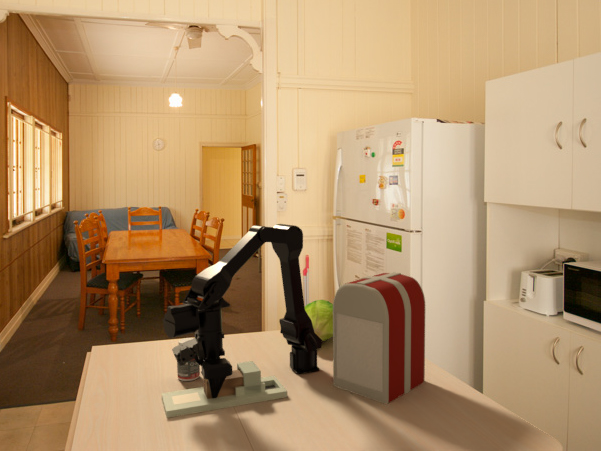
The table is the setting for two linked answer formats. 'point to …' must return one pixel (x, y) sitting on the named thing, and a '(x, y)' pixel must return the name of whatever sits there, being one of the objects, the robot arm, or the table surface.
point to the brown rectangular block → (226, 384)
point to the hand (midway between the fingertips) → (211, 392)
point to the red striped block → (379, 336)
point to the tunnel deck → (249, 393)
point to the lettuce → (321, 318)
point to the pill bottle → (188, 367)
